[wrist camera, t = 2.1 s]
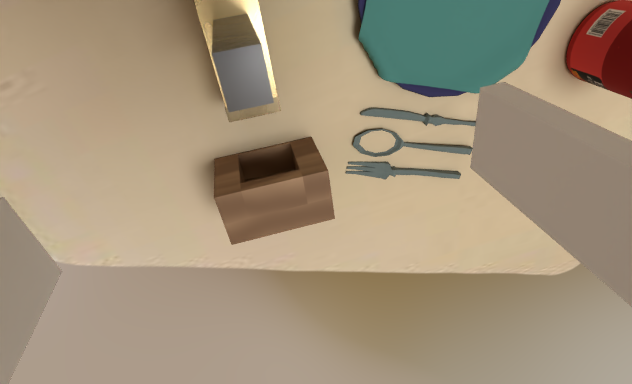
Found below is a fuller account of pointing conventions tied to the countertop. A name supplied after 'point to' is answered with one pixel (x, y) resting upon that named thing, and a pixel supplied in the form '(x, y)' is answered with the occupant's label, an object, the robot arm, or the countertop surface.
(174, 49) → the countertop surface
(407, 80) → the cutlery set
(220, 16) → the gray and tan bar
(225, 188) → the socket block
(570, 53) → the canned food
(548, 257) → the countertop surface
